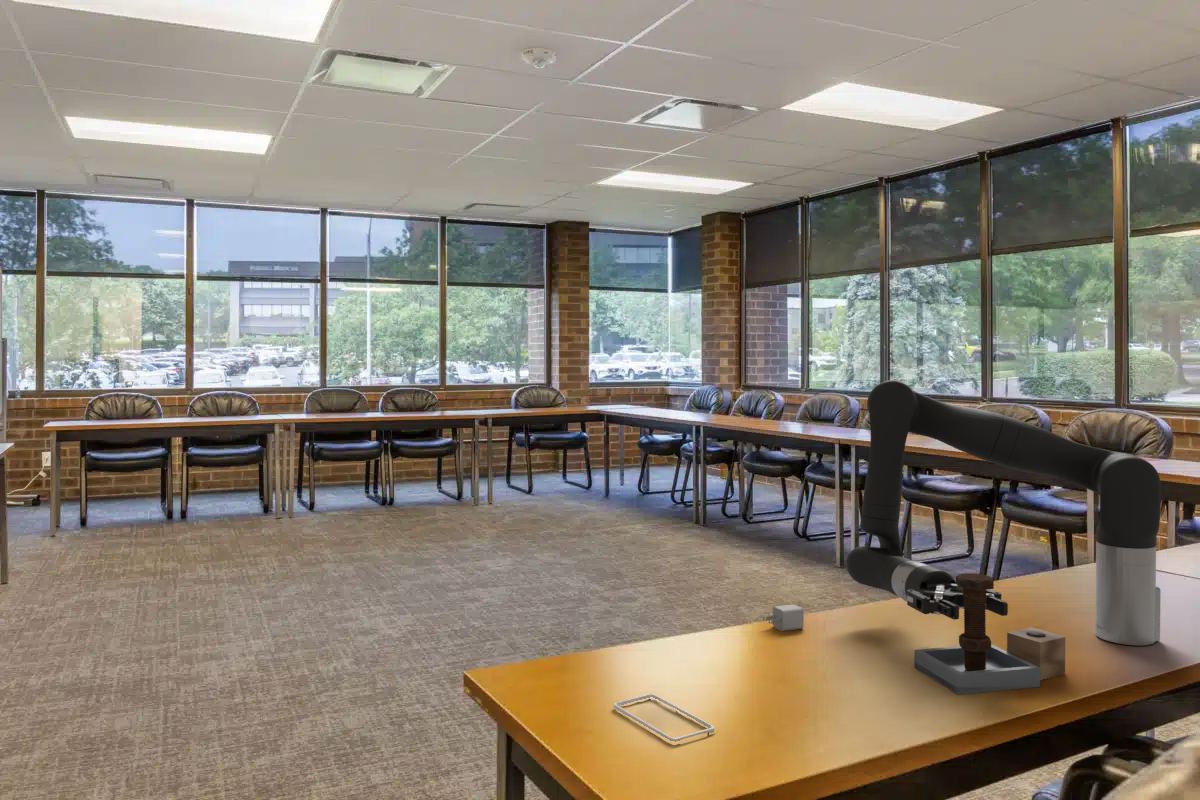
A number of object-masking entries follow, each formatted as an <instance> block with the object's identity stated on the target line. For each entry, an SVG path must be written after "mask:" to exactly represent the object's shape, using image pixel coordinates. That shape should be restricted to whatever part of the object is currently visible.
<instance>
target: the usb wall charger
mask: <svg viewBox="0 0 1200 800" xmlns="http://www.w3.org/2000/svg"><path fill="white" fill-rule="evenodd" d="M804 616H805V615H804V609H803V607H800V606H798V605H796V604H794V603H793V604H785V605H776V606H772V615H768V616H767V615H766V616H763V617H762V618H763V619H762V620H763V621H768V624H772V625H773V628H775V629H777V630H778V631H781V632H786V631H787V632H788V631H794V630H802V629H804V628H805V627H804Z"/></svg>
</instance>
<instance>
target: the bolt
mask: <svg viewBox="0 0 1200 800" xmlns="http://www.w3.org/2000/svg"><path fill="white" fill-rule="evenodd" d="M955 582H956V584H957V585H958V586H959V588H963V596H964V609H963V618H964V619H963V624H964V625H963V633H960V634H959V635H958V644H959V646H960V647H961V648H962V649H964V651H965V652H964V653H965V654H964V655H965V656H964V658H965V659H964V660H965V661H964V662H965V663H964V664H965V665H964V666H965V669H966V670H967V671H979V670H985V669H986V664H985V663H986V652H987V651H989V650H990V649H991V644H992V640H991V637H990V636H989V635H987V634H986V633H987V632H986V631H987V630H986V629H987V627H986V623H987V622H986V620H987V618H986V614H987V613H986V611H987V610H986V609H985V608H986V607H985V606H986V603H985V602H986V601H985V600H986V590H988V589H991V590H994V584H995V583H994V582H995V581H994V579H993V577H992V576H990V575H986V574H981V573H973V572H972V573H970V572H969V573H968V572H966V573H959V574H957V575H956V576H955Z"/></svg>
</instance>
